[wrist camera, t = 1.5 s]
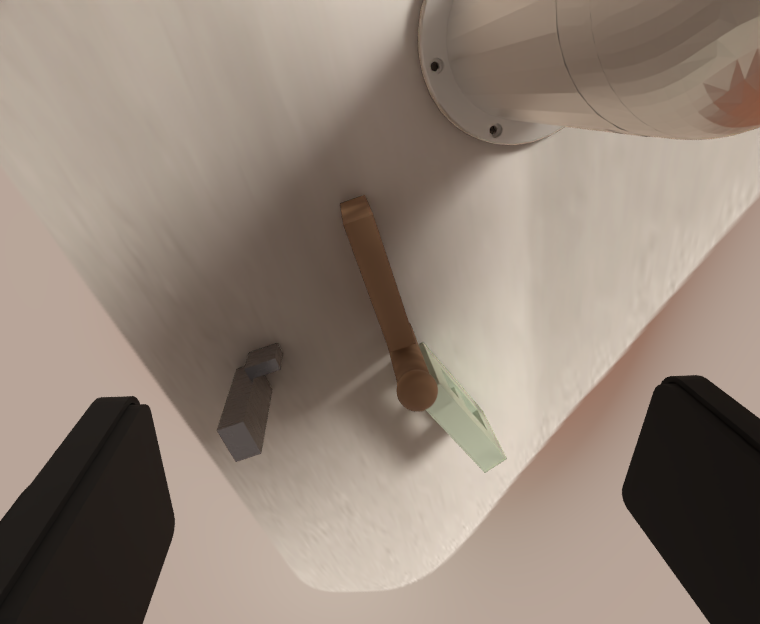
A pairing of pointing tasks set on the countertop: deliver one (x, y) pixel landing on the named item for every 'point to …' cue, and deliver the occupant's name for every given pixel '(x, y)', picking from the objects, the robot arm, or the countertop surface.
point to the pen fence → (388, 307)
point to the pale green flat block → (462, 416)
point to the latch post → (249, 403)
